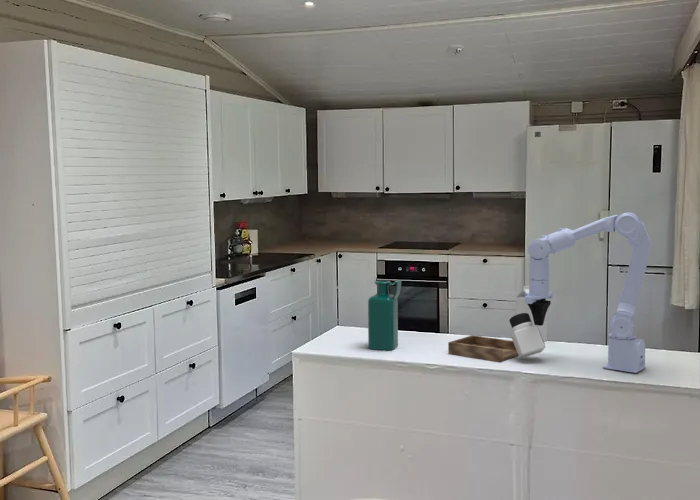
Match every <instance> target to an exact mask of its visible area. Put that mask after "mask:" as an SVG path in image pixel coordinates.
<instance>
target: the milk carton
mask: <svg viewBox="0 0 700 500" xmlns="http://www.w3.org/2000/svg"><path fill="white" fill-rule="evenodd" d="M522 288H523V289H522V291H520V293H518V294H517V296H516V302H515V303H516V305H515V307H516V308H515V311H516V312H515V315H517V314H521V313H528V314H529V316H530V319H531V321H532V324H533V325H535V324H534V320H533V316H532V312H531V310H530V308H529V306H528V304H527V303H525V297H526V293H529V285H523V287H522ZM546 301H548V299H546ZM533 325H532V326H533ZM537 326H538V329H539V331H540V334H541V336H542V339H543V342H544V343H545V342H547V341H548V340H547V339H548V311H547V312H546V315H545V319H544V323H543V325H542V326H539V325H537Z"/></svg>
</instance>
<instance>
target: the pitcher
mask: <svg viewBox="0 0 700 500" xmlns="http://www.w3.org/2000/svg"><path fill="white" fill-rule="evenodd" d="M374 284H375V285H376V294H373V295H371V296H370V297H369V298H368V300H367V327H368V330H367V333H368V335H367V336H368V337H367V341H368V342H367V343H368V345H367V347H368V349H369V350H373V351H383V350H386V352H387V351H389V352H390V350H391V351H393V350H395V349H396V348H398V346H399V326H398V325H399V317H398V316H399V315H398V314H399V313H398V311H399V309H398V308H399V306H398V305H399V302H398V297H399V295H400V293H401V289H402V280H400V279H397V280H395V281H393V282H391V281H390V280H376V281H374ZM393 285H395V293H394V294H390V291H389V287H391V286H393Z"/></svg>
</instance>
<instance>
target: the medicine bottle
mask: <svg viewBox="0 0 700 500" xmlns="http://www.w3.org/2000/svg"><path fill="white" fill-rule="evenodd" d="M508 322H509V323H510V324H509V325H510V326H511V329H512V331H513V333H512V335H511V339H512V340H511V341H513V343H514V345H515V348H516V351H517V353H518V356H517V357H518V358H519V359H523V358H526V357H529V356H530V357H531V356H533V355H536V354H540V353H542V352H543V351H544V350H545V348H546V345H545V342H543V339H542V336H541V334H540V331H539V329H538V326H537V325H533V324H532V321H531V319H530V316H529V314H528V313H521V314H517V315H516V314H515V315H513V316H512V317H510V319H509V321H508ZM532 325H533V326H532Z"/></svg>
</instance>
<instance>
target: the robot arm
mask: <svg viewBox="0 0 700 500" xmlns="http://www.w3.org/2000/svg"><path fill="white" fill-rule="evenodd" d="M601 232H608V233H609V232H610V233H614V232H617V233H619V234H620V235H621V236H622V237H623V238H625V239H626V240H627V242H628V243H629V245H630V246H631V247H632V248H633V249H632V253H631V257H630V261H629V265H628V269H627V273H626V276H625V280H624V284H623V288H622V291H621V295H620V299H619V303H618V306H617V310H616V312H614V314H613V315H612V317H611V320H610V321H609V322H610V323H609V331H610V333H608V340H607V341H608V346H607V347H608V352H607V353H608V356H607V364H604V365H602V368H603V369H607V370H614V371H620V372H627V373H634V374H637V373H639V372H641V371H643V370H644V369H646V368H647V367H646V343H645V341H644V339H640V338H638V337H637V335H636V334H635V333H634V329H635V325H636V324H635V323H636V321H635V317H634V316H635V311H636V307H637V304H638V299H639V296H640V291H641V289H642V286H643V281H644V278H645V274H646V270H647V267H648V263H649V258H650V255H651V251H652V247H653V245H652V240H651V238H650V236H649V234H648V230H647V229H646V225H645V223H644V221H643V220H642V219H641V218H640V217H639V216H638V215H637V214H636V213H634V212H630V211H627V212H623V213H621V214H615V215H610V216H606V217H603V218H601V219H598V220H596V221H595V220H594V221H593V222H589V223H588V224H586V225H583V226H581V227H578V228H575V229H573V230H572V229H569V228H567V227H566V228H563V227H560V228H557V231H555V232H552V233H550V234H547V235H546V234H542V235H541V238H535V239H534V240H532V241H531V242H530V243H529V244H528V247H527V251H528V254H529V263H528V266H529V267H528V270H529V272H528V275H529V276H528V286H529V293H526V297H525V303H527V304H528V306H529V308H530V310H531V312H532V316H533V320H534V324H535V325H539V326H542V325H543V323H544V319H545V315H546V312H547V313H548V310H549V307H550V306H551V304H552V303H551V302H552V301H551V300H549V299H553V296H554V294H553V291H550V257H549V256H550V254H553V255H554V254H556V253H560V252H562V251H565V250H568V249H570V248H574V247H575V245H576V242H577V241H579V240H581V239H584V238H587V237H590V236H593V235H596V234H598V233H601ZM546 299H547V301H546Z"/></svg>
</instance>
